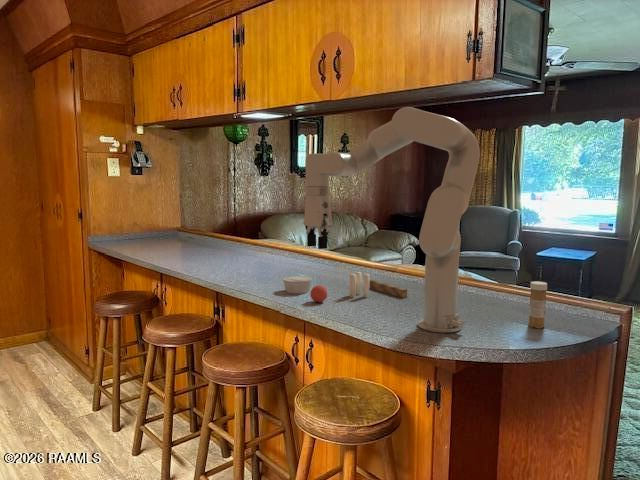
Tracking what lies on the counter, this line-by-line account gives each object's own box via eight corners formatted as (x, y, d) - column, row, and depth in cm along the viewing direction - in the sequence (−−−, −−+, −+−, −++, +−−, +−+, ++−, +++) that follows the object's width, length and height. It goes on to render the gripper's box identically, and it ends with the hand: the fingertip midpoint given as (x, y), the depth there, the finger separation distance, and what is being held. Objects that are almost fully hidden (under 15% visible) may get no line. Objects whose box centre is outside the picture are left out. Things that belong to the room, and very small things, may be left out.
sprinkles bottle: (532, 323, 148) (534, 280, 146) (547, 326, 145) (550, 282, 143) (525, 326, 145) (527, 282, 143) (540, 329, 142) (543, 284, 140)
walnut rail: (406, 297, 181) (407, 289, 181) (402, 297, 180) (403, 290, 180) (370, 286, 200) (370, 279, 199) (366, 286, 199) (366, 279, 198)
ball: (330, 302, 173) (330, 286, 172) (316, 304, 169) (316, 288, 169) (321, 299, 178) (321, 283, 177) (307, 301, 174) (307, 285, 174)
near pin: (370, 297, 181) (370, 274, 180) (365, 297, 180) (365, 275, 179) (366, 295, 183) (366, 273, 182) (361, 296, 182) (361, 274, 181)
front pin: (357, 297, 181) (357, 274, 180) (352, 297, 180) (352, 275, 179) (353, 295, 183) (353, 273, 182) (348, 296, 182) (348, 274, 181)
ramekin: (282, 294, 185) (282, 281, 184) (284, 288, 196) (284, 275, 195) (311, 294, 185) (311, 281, 184) (312, 288, 196) (312, 275, 195)
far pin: (362, 294, 185) (362, 272, 184) (357, 295, 184) (357, 273, 183) (358, 293, 187) (359, 271, 186) (353, 293, 186) (353, 272, 185)
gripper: (341, 192, 151) (341, 249, 154) (313, 191, 166) (313, 243, 168) (321, 193, 147) (321, 251, 150) (294, 191, 162) (294, 245, 164)
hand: (317, 246), depth 159 cm, fingers open, 6 cm apart
